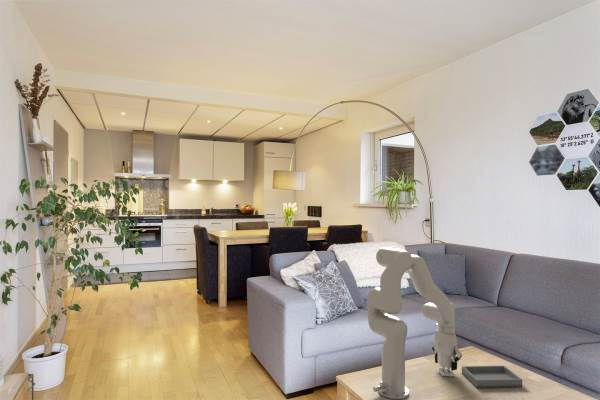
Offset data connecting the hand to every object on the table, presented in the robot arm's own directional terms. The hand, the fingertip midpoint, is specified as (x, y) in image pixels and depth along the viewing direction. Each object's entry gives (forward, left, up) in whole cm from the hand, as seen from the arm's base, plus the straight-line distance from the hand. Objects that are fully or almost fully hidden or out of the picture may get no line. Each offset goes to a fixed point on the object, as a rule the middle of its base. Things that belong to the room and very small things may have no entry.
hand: (445, 366), depth 179 cm
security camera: (0, 0, -3) cm, 3 cm away
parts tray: (+11, -15, -3) cm, 19 cm away
